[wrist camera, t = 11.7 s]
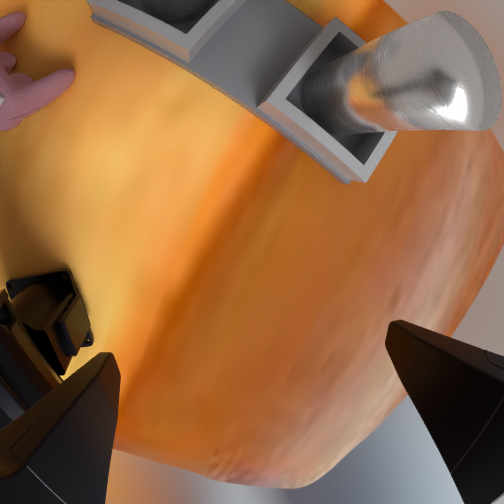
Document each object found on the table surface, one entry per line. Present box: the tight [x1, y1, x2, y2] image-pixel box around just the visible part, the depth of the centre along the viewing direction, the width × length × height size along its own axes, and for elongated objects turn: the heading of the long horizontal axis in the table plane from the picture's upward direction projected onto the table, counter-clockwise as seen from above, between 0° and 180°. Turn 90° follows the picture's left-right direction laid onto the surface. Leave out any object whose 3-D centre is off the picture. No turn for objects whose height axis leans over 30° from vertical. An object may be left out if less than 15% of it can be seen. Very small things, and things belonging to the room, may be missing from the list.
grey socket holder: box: [87, 0, 398, 184], centre depth 16 cm, size 22×9×4 cm, turn 55°
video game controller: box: [0, 12, 75, 131], centre depth 12 cm, size 10×5×7 cm, turn 40°
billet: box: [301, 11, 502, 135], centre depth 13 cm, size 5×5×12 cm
